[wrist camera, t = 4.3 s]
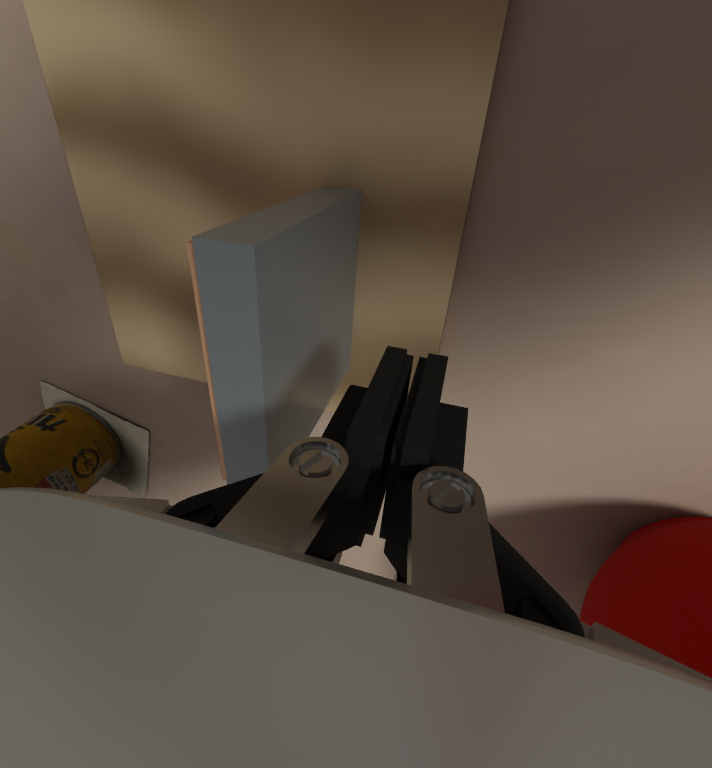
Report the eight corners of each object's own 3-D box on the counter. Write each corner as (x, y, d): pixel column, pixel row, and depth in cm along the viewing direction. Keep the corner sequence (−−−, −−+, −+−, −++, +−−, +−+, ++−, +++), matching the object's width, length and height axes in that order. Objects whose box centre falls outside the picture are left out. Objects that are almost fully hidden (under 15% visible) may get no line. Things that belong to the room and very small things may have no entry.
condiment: (41, 379, 29) (-191, 512, 19) (150, 429, 28) (-28, 591, 19) (52, 449, 33) (-133, 587, 23) (148, 494, 33) (0, 653, 23)
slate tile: (318, 184, 17) (179, 235, 9) (361, 189, 16) (253, 246, 9) (315, 359, 21) (219, 487, 14) (349, 366, 21) (271, 501, 13)
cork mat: (-28, -238, 13) (-48, -252, 13) (569, -299, 10) (573, -321, 9) (130, 359, 25) (123, 364, 25) (424, 424, 22) (422, 431, 21)
